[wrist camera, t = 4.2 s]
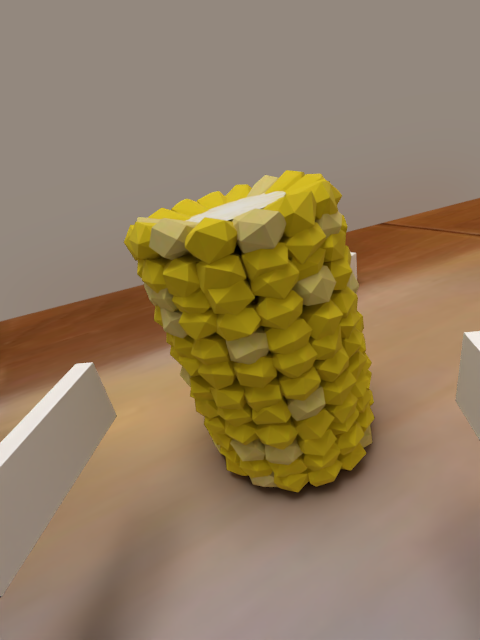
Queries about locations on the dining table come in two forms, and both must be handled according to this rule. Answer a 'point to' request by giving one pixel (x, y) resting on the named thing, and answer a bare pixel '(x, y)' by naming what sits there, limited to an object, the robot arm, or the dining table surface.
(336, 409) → the food
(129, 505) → the dining table surface
